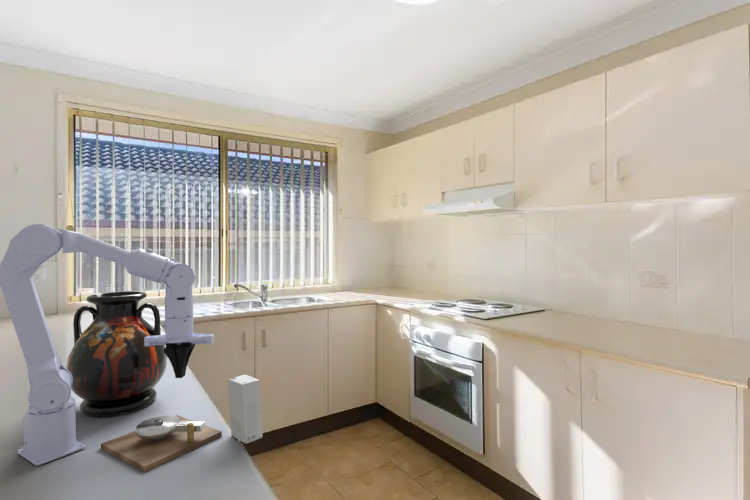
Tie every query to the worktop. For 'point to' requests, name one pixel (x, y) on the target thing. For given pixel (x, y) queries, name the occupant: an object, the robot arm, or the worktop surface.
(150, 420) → the silver disc with handle
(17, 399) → the worktop surface
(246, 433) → the skincare box
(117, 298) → the amphora vase
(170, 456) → the base board
